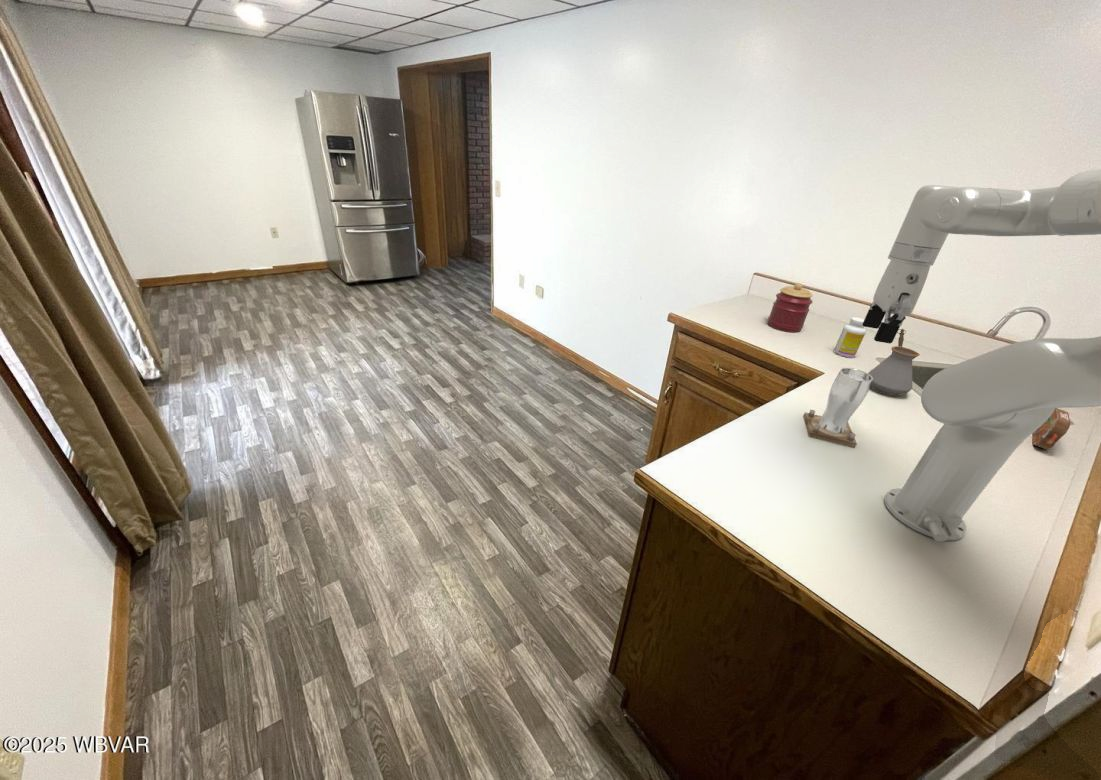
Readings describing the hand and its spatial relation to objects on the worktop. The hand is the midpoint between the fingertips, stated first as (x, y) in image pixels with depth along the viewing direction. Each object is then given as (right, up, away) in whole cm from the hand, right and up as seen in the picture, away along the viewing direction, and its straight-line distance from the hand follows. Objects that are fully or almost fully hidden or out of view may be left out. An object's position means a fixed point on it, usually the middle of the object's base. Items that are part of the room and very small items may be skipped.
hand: (875, 334), depth 94 cm
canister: (+23, +13, +79) cm, 83 cm away
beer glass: (-2, -22, +12) cm, 25 cm away
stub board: (-2, -23, +13) cm, 26 cm away
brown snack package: (+55, -26, +16) cm, 62 cm away
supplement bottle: (+33, 0, +58) cm, 67 cm away
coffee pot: (+32, -10, +40) cm, 52 cm away
